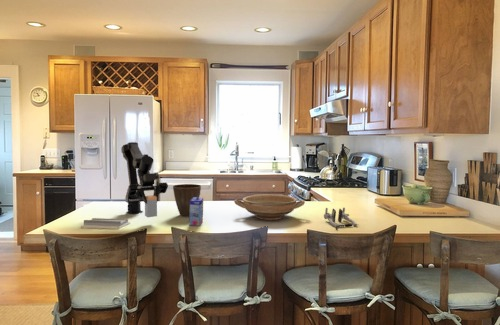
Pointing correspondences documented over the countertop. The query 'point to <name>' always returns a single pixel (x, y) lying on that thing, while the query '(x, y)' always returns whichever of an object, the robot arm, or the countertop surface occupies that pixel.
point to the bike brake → (341, 216)
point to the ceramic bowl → (269, 205)
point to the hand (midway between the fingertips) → (151, 202)
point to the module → (151, 206)
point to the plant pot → (185, 197)
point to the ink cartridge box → (196, 211)
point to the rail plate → (105, 223)
